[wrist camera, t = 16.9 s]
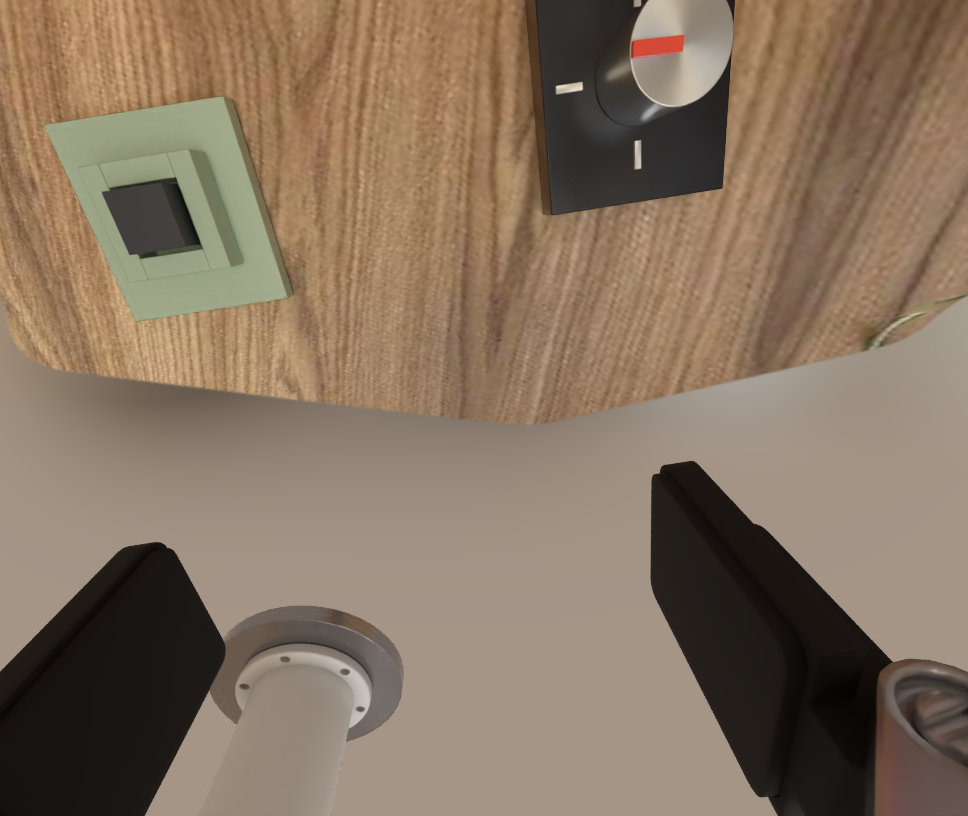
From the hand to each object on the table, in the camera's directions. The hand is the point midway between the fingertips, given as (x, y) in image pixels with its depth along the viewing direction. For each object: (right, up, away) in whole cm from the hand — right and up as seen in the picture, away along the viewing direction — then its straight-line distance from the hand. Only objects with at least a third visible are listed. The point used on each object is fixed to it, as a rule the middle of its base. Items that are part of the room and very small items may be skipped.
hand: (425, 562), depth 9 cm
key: (-17, +14, +17) cm, 28 cm away
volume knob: (+9, +20, +15) cm, 27 cm away
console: (+9, +22, +18) cm, 29 cm away
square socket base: (-17, +15, +19) cm, 30 cm away
